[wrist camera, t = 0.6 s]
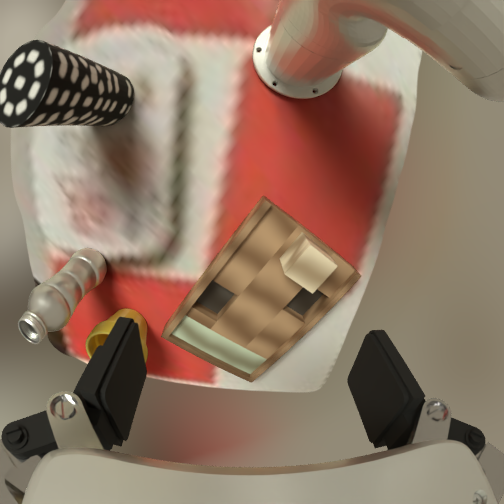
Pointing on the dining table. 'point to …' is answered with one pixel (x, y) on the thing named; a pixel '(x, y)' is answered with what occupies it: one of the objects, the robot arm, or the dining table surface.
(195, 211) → the dining table surface
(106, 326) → the plant pot
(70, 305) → the plastic bottle
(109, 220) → the dining table surface
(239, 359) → the box
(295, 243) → the block
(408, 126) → the dining table surface
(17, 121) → the spotted tube
